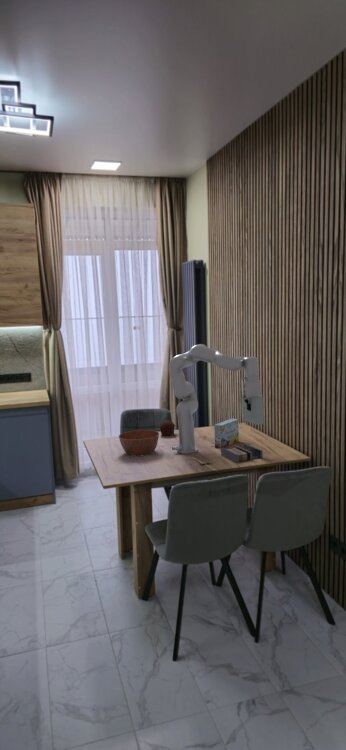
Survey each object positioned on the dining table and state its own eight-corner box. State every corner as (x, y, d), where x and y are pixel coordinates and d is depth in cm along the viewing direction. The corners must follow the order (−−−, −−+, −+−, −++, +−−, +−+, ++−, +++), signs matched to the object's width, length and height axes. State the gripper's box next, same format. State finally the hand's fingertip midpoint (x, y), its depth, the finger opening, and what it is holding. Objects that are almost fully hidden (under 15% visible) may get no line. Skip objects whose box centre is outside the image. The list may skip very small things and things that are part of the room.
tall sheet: (257, 425, 287) (256, 398, 285) (243, 420, 302) (242, 395, 300) (263, 424, 289) (262, 397, 287) (248, 419, 303) (248, 394, 302)
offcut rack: (236, 464, 283) (236, 455, 283) (221, 456, 300) (220, 447, 299) (262, 459, 290) (262, 450, 289) (245, 452, 306) (245, 443, 305)
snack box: (222, 449, 316) (221, 425, 314) (214, 448, 319) (213, 424, 318) (239, 441, 333) (238, 418, 331) (232, 440, 336) (231, 417, 334)
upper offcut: (238, 458, 285) (237, 455, 285) (225, 452, 298) (225, 449, 298) (247, 456, 288) (247, 453, 288) (234, 450, 301) (234, 447, 300)
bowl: (152, 445, 334) (151, 428, 333) (165, 454, 311) (164, 436, 309) (115, 450, 325) (114, 433, 324) (126, 460, 302) (125, 441, 301)
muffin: (173, 437, 353) (172, 422, 351) (157, 437, 355) (157, 422, 354) (177, 433, 364) (176, 419, 363) (162, 432, 367) (161, 419, 365)
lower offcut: (238, 461, 286) (238, 458, 285) (225, 455, 298) (225, 452, 298) (247, 459, 288) (247, 456, 288) (234, 453, 301) (234, 450, 301)
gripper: (241, 380, 286) (243, 412, 288) (267, 377, 292) (268, 409, 294) (235, 379, 293) (236, 410, 295) (260, 376, 299) (261, 407, 301)
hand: (252, 409), depth 294 cm, fingers closed on tall sheet, 4 cm apart
